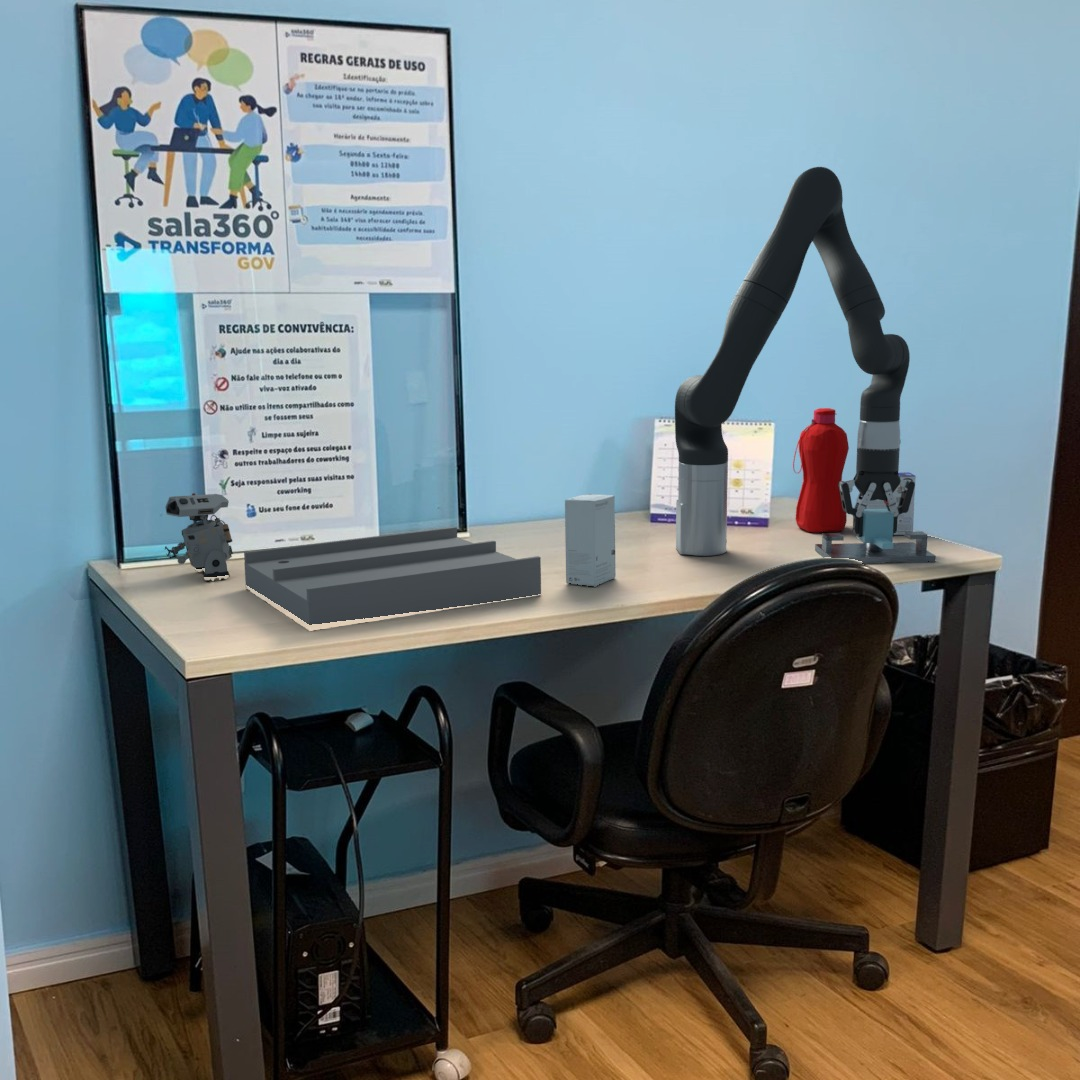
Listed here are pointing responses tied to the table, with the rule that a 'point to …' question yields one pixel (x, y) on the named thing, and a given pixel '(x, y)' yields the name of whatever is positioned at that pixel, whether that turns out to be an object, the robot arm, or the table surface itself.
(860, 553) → the mount
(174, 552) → the figurine
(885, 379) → the robot arm
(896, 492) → the ink cartridge box
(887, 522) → the light blue skewered cube
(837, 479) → the water bottle
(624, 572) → the table surface
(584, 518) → the skincare box
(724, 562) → the table surface
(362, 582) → the desk organizer
